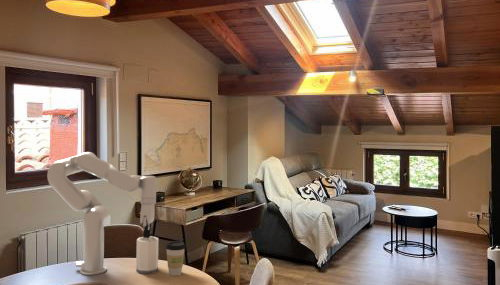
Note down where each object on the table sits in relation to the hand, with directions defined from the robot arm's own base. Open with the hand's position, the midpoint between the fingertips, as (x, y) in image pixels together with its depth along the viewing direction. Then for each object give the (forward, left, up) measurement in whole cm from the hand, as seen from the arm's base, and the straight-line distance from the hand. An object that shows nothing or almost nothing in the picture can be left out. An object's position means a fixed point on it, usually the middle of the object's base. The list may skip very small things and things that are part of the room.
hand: (147, 236), depth 211 cm
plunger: (0, 0, -14) cm, 14 cm away
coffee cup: (+15, -3, -18) cm, 23 cm away
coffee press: (0, 0, -17) cm, 17 cm away
